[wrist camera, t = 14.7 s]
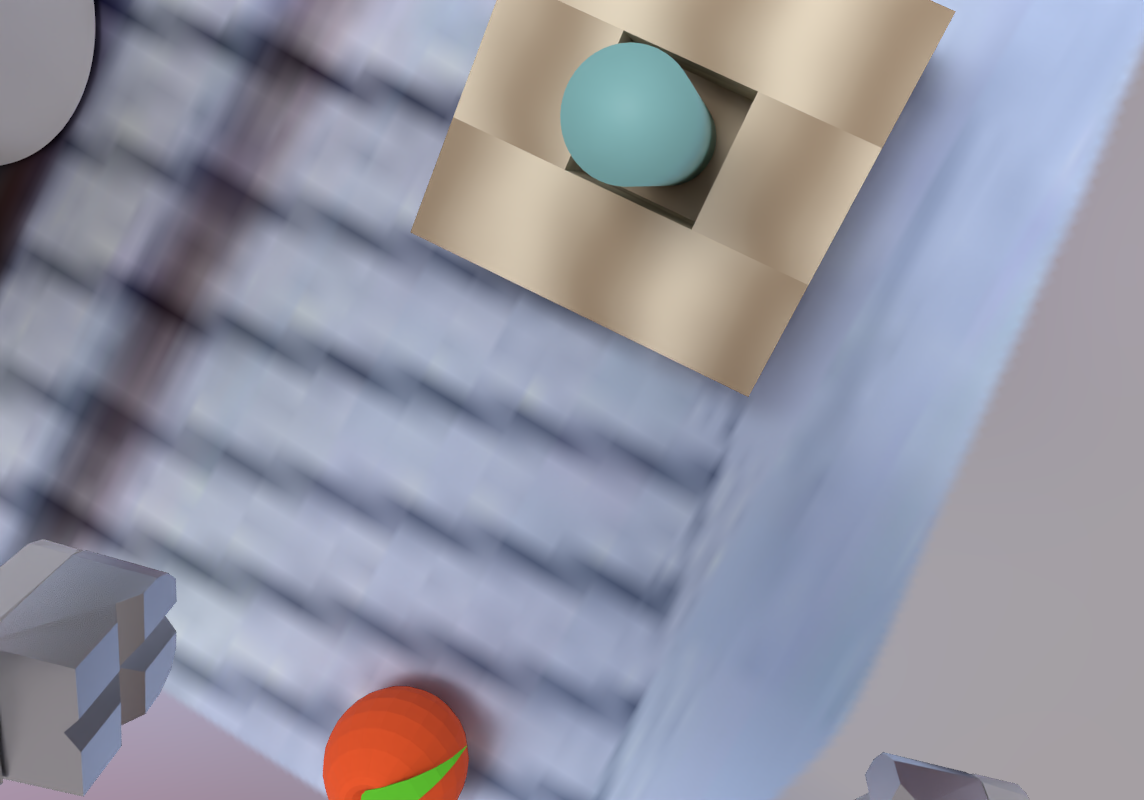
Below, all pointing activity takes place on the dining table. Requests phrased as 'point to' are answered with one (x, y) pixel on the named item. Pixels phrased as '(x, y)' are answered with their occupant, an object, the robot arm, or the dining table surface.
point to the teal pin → (636, 118)
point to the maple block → (700, 206)
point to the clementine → (396, 749)
